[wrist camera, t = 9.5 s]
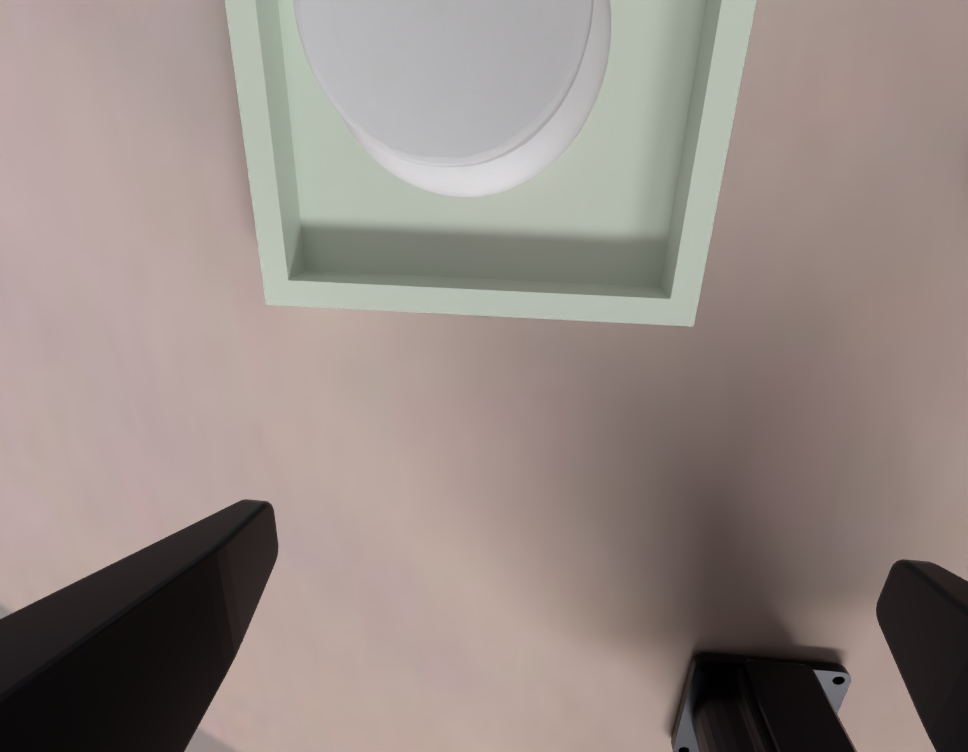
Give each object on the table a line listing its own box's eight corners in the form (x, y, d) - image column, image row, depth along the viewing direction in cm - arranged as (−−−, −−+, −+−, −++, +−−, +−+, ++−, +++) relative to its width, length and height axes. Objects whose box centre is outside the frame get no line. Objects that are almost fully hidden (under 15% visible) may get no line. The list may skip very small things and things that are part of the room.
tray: (677, 307, 18) (693, 326, 16) (291, 288, 19) (265, 304, 17) (772, -231, 13) (812, -293, 11) (232, -226, 13) (186, -283, 12)
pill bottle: (516, 213, 17) (504, 285, 8) (363, 117, 16) (187, 95, 8) (620, 37, 15) (736, -91, 6) (451, -83, 14) (339, -398, 6)
